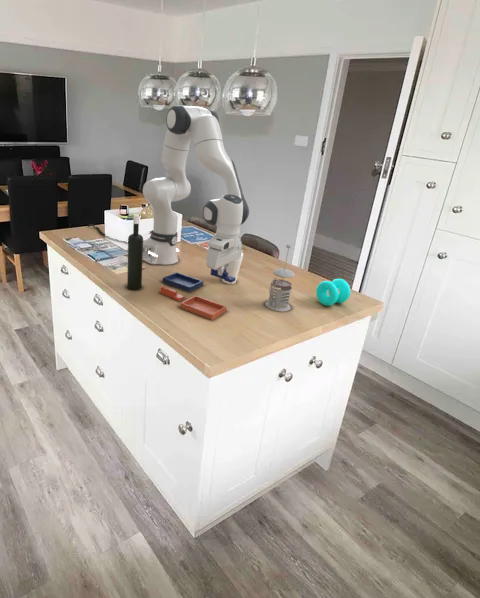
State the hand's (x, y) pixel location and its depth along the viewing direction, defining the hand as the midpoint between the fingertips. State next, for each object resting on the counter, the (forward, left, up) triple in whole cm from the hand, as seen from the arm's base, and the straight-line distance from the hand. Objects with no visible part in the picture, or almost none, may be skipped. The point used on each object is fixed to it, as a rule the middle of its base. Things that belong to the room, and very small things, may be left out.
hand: (222, 273), depth 162 cm
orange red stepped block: (-14, -13, -10) cm, 22 cm away
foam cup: (-6, +18, -10) cm, 22 cm away
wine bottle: (-30, -17, -10) cm, 36 cm away
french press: (+21, +9, -10) cm, 25 cm away
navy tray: (-19, 0, -10) cm, 22 cm away
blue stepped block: (0, 0, -2) cm, 2 cm away
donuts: (+36, +28, -10) cm, 46 cm away
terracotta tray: (+1, -14, -10) cm, 17 cm away
